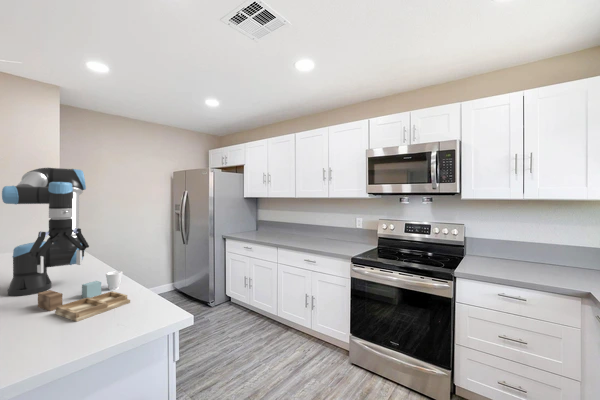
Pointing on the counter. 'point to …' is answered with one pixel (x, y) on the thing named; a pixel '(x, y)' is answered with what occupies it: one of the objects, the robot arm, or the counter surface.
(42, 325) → the counter surface
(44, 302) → the brown wooden block
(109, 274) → the cup
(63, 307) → the tray
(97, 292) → the pale teal block
